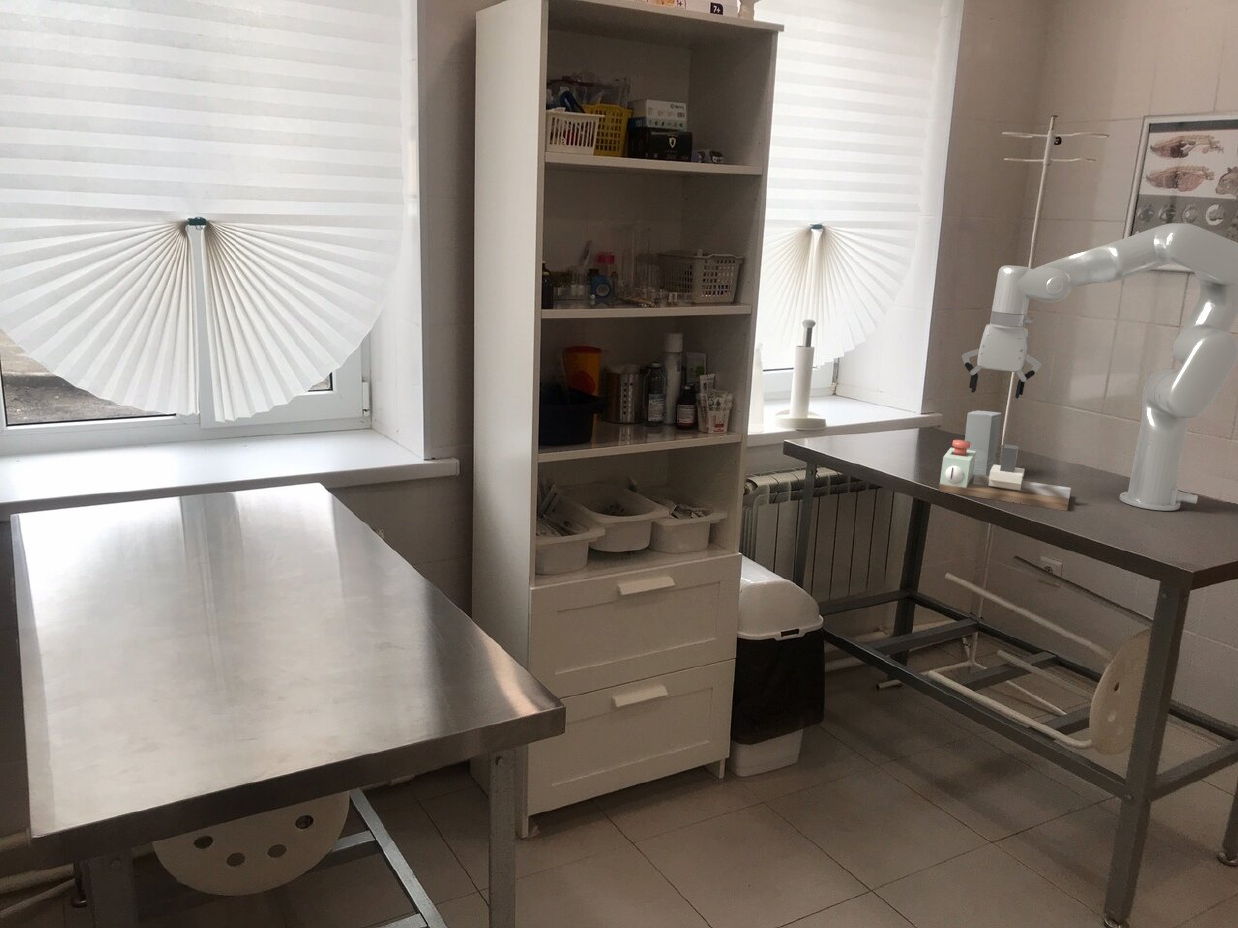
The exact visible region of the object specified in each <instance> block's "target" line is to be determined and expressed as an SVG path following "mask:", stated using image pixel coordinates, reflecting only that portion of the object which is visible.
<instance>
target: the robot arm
mask: <svg viewBox="0 0 1238 928" xmlns="http://www.w3.org/2000/svg"><path fill="white" fill-rule="evenodd" d="M1170 264H1176V265H1180V266H1182V267H1185V268H1187V269H1188V270H1191V271H1193V273H1194V275H1195V276H1196V279H1197V280H1198V283H1199V284H1198V285H1199V290H1200V292H1199V298H1198V300H1197V302H1196V305H1195V307H1194V309H1193V310H1192V312H1191V314H1190V315H1189V318H1188V319H1187V321H1186V322H1185V324H1184V326H1183V327H1182V329H1181V330H1180V332H1179V334H1178V336H1176V337H1177V338H1176V339H1175V341H1174V344H1173V347H1172V352H1173V356H1174V358H1175V360H1177V362H1178V363H1180V364H1181V366H1180V368H1179V369H1176V368H1163V369H1160V370H1157V371H1155V372H1154V373H1152V374H1151V375H1150V376H1149V377H1148V378H1147V380H1146V381H1145V384H1144V386H1143V391H1142V397H1141V398H1142V402H1141V403H1142V404H1141V417H1140V425H1139V432H1138V435H1137V440H1136V447H1135V453H1134V458H1133V463H1132V469H1131V474H1130V477H1129V478H1130V479H1129V485H1128V490H1127V491H1124V492H1121V493H1120V494H1119V500H1120V501H1121V502H1123V503H1124V504H1127V505H1130V506H1133V507H1137V508H1141V509H1147V510H1153V511H1162V512H1165V511H1166V512H1167V511H1169V512H1170V511H1171V512H1172V511H1177V510H1179V509H1180V508H1181V502H1185V503H1187V504H1188V503H1189V504H1197V502H1198V498H1199V496H1198V495H1195V494H1191V493H1190V492H1183V491H1180V490H1178V486H1177V484H1178V478H1179V473H1180V468H1181V464H1182V459H1183V458H1182V457H1183V453H1184V447H1185V443H1186V438H1187V432H1188V419H1193V418H1196V417H1198V416H1200V415H1202V414H1203V413H1204V412H1205V411H1207V409H1208V408H1209V407H1210V406H1211V404H1213V401H1214V400H1215V398H1216V397H1217V395H1218V394H1219V392H1220V390H1221V388H1222V387H1223V386H1224V384H1225V382H1226V381H1227V379H1228V378H1229V376H1230V374H1231V372H1232V370H1233V369H1234V367H1235V366H1236V362H1237V360H1238V342H1237V340H1236V338H1235V337H1234V336H1233V335H1232V334H1231V333H1230V332H1231V330H1232V328H1233V326H1234V324H1235V323H1236V320H1237V318H1238V242H1237V241H1234V240H1232V239H1229V238H1227V237H1225V236H1222V235H1220V234H1217V233H1215V232H1212V231H1209V230H1207V229H1205V228H1203V227H1200V226H1198V225H1194V224H1191V223H1175V222H1174V223H1172V222H1171V223H1165V224H1162V225H1158V226H1155V227H1153V228H1149V229H1147V230H1144V231H1142V232H1139V233H1136V234H1133V235H1131V236H1128V237H1124V238H1122V239H1118V240H1116V241H1113V242H1112V241H1111V242H1110V243H1107V244H1104V245H1100V246H1096V247H1094V248H1091V249H1088V250H1085V251H1082V252H1078V253H1075V254H1071V255H1068V256H1065V257H1062V258H1059V259H1056V260H1053V261H1050V262H1048V263H1044V264H1043V265H1039V266H1036V267H1035V268H1031V267H1028V266H1023V265H1022V266H1021V265H1011V264H1010V265H1009V264H1008V265H1002V266H1001V267H1000V268H999V269H998V273H997V277H996V285H995V289H994V296H993V303H992V306H991V313H990V321H989V323H988V324H985V327H984V331H983V333H982V337H981V339H980V340H981V341H980V344H979V348H975V349H974V350H970V351H968V352H967V351H966V352H965V353H963V354H962V355H961V359H962V361H963V365H964V367H965V369H966V370H967V371H968V372H969V374H970V381H969V387H968V388H969V389H971V393H975V392H976V391H977V386H978V379H979V375H978V372H979V371H981V369H986V370H993V371H1002V372H1011V373H1015V374H1016V375H1017V377H1018V378H1019V379H1018V381H1017V385H1016V390H1015V391H1016V392H1015V396H1014V398H1015V399H1019V398H1020V396H1023V395H1024V388H1025V383H1026V381H1028V380H1029V379H1030V378H1032V377H1033V376H1035V374H1036V373H1037V372H1038V370H1039V369H1041V367H1042V363H1041V362H1039V360H1037V359H1035V358H1033V357H1032V356H1031V355H1029V354H1028V353H1027V350H1028V341H1029V331H1028V328H1025V326H1026V325H1032V324H1033V318H1031V317H1030V316H1029V317H1028V310H1029V309H1028V308H1029V304H1030V303H1029V302H1030V299H1032V300H1037V301H1041V302H1045V303H1057V302H1060V301H1062V300H1064V299H1066V298H1067V297H1068V296H1069V295H1070V293H1071V291H1072V289H1075V288H1078V287H1082V286H1086V285H1091V284H1093V285H1094V284H1103V283H1104V284H1105V283H1112V282H1117V281H1122V280H1125V279H1128V278H1130V277H1131V278H1132V277H1133V276H1136V275H1139V274H1142V273H1144V272H1147V271H1150V270H1153V269H1157V268H1161V267H1163V266H1165V265H1170ZM975 356H977V360H976V361H977V362H976V363H977V364H976V366H973V364H972V363H971V361H970V358H972V357H975ZM1026 362H1027V363H1028V364H1030V365H1031V366H1032V368H1031V369H1030V370H1029V371H1027V372H1026V373H1025V372H1024V370H1023V369H1024V367H1025V363H1026Z"/></svg>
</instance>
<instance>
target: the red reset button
mask: <svg viewBox="0 0 1238 928" xmlns="http://www.w3.org/2000/svg"><path fill="white" fill-rule="evenodd" d="M952 448H955V449H954V455H958V456H966V452H967V449H968V448H970V442H969V441H965V439H954V440H952Z"/></svg>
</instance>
